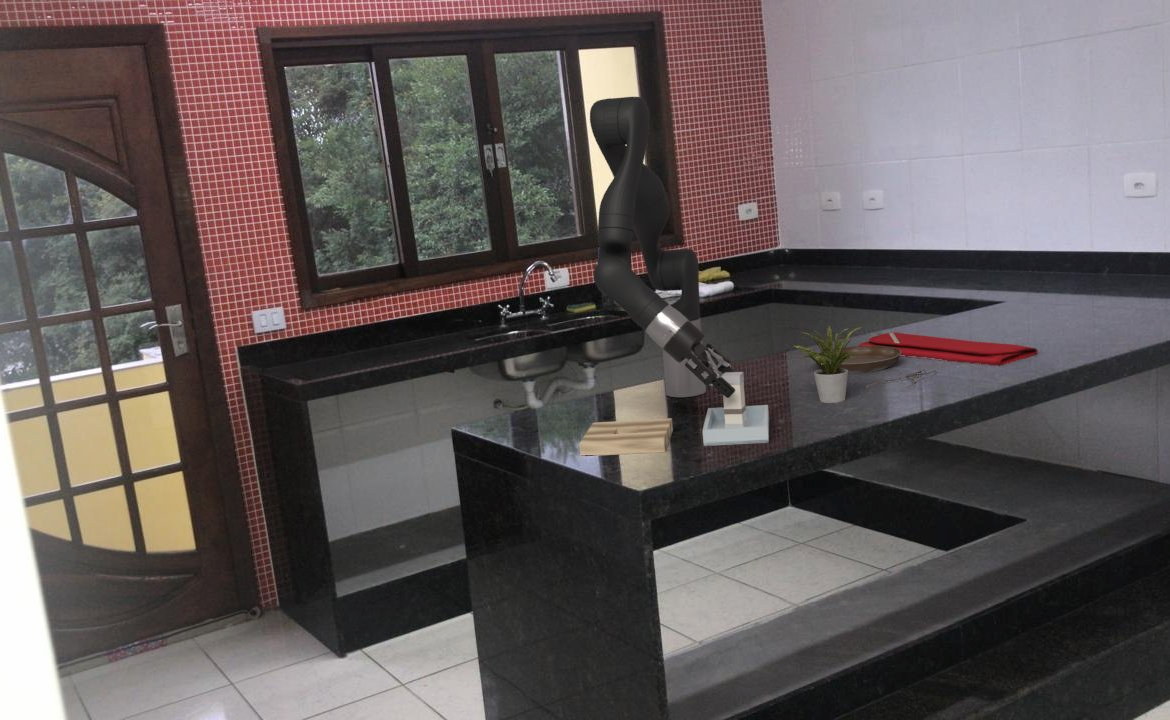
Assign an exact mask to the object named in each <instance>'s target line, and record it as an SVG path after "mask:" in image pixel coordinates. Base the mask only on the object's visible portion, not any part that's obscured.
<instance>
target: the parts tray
mask: <svg viewBox="0 0 1170 720" xmlns="http://www.w3.org/2000/svg"><path fill="white" fill-rule="evenodd" d="M769 413H770V412H769V404H761V405H760V404H758V405H746V419H747V427H739V428H725V414H724V406H721V407H708V408H707V412H706V415H705V418H704V423H703V426H702V427H703V428H702V440H703V441H702V442H703V443H702V444H703V447H710V446H729V445H730V446H733V445H749V444H750V445H751V444H752V445H753V444H768V443H769V441H770V437H769V436H770V414H769Z"/></svg>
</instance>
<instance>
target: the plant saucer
mask: <svg viewBox="0 0 1170 720" xmlns="http://www.w3.org/2000/svg"><path fill="white" fill-rule="evenodd" d="M844 347H845V346H844ZM844 347H843V348H844ZM839 349H840V347H839ZM842 350H843V349H842ZM838 351H839V350H838ZM833 352H834V348H833ZM845 352H855V353H856V354H857V355H856V354H855V353H850V354H848V355H846V356H848V357H850V356H852V357H854V358H850V359H848V360H846V361H844V362H843V363H842V364H841V366H840V368H842V369H847V370H848V374H860V373H859V372H863V373H870V372H869V371H872V372H877V371H876V370H878V371H882V370H881V369H883V370H886V369H888V367H889V368H890V367H892V366H893V365H894V364H895V363H896V362H897V361H898V360H899V358H900V357H901V356H900V355H901V351H900V350H899V349H897V348H893V347H886V346H859V345H857V346H846V347H845V348H844V350H843V352H842V354H843V353H845ZM818 354H819V355H820V356H821V357H824V356H822V355H823V354H822V353H820V352H819V353H818ZM821 354H822V355H821ZM842 354H841V355H842ZM825 361H826V360H825ZM885 368H886V369H885Z"/></svg>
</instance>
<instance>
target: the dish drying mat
mask: <svg viewBox="0 0 1170 720" xmlns="http://www.w3.org/2000/svg"><path fill="white" fill-rule="evenodd" d="M858 346H886V347H893V348H897V349H899V350H900V351H901V355H905V356H916V357H927V358H935V359H942V360H947V361H946V362H952V361H957V362H956V363H963V362H969V363H968V364H974V363H979V364H978V365H985V364H989V365H988V366H996V365H998V366H999V367H1002V366H1004V364H1005V365H1007V363H1008V364H1010V362H1011V363H1014V362H1017V361H1020V359H1021V360H1024V359H1027V358H1030V356H1031V357H1034V356H1036V355H1038V353H1039V352H1038V349H1037V348H1035V347H1030V346H1024V345H1018V344H1011V343H1009V344H1008V343H998V342H988V341H987V342H984V341H973V340H965V339H957V338H949V337H948V338H946V337H937V336H929V335H921V334H911V333H910V334H909V333H903V332H895V331H894V332H893V331H892V332H891V331H890V332H887V333H886V332H885V333H882V334H878V335H875V336H871V337H870V338H868V341H865V342H862V343H859V344H858ZM1023 358H1024V359H1023ZM1016 360H1017V361H1016ZM1013 361H1014V362H1013ZM980 363H981V364H980ZM1001 365H1002V366H1001ZM998 366H997V367H998Z"/></svg>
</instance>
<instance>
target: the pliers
mask: <svg viewBox="0 0 1170 720" xmlns="http://www.w3.org/2000/svg"><path fill="white" fill-rule="evenodd" d="M924 370H925V369H922V370H920V371H917V372H913V373H910V374H908V375H906V376H905V375H904V377H903V376H902V377H899V378H892V379H885V380H881V381H879V380H878V381H876V382H872V383H869V384H868V385H866V386H865V389H869V388H871V387H873V385H874V386H877V385H876V384H878V385H880V384H879V383H882V384H884V383H883V382H888V381H895V380H901V379H904V378H909V377H913V378H914V379H915V378H919V375H920V377H921V376H922V375H923V374H924V375H925V374H926V375H927V374H931V373H933V372H936V373H937V370H933V371H929V372H925V373H923V374H922V375H921V374H917V373H921V372H922V371H924ZM917 375H918V376H917ZM914 379H913V381H914ZM913 381H912V385H909V386H907V387H904V388H901V389H899V390H903V389H906V388H909V387H911V386H913V385H914V384H915V381H914V382H913ZM870 386H871V387H870ZM868 387H869V388H868Z"/></svg>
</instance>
